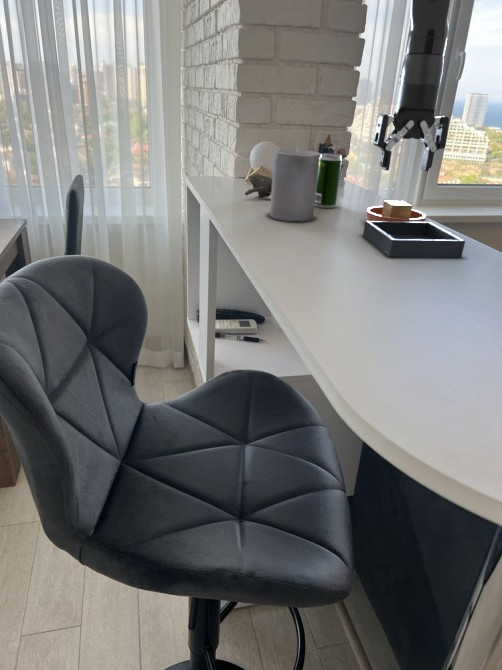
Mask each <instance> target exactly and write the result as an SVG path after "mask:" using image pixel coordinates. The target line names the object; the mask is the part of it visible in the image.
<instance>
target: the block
mask: <svg viewBox="0 0 502 670" xmlns="http://www.w3.org/2000/svg"><path fill="white" fill-rule="evenodd" d="M382 206H383V209H382V216H385V217H391V218H399V219H410V216H411V210H413V205H412V204H410V203H408V202H406V201H405V200H383V204H382Z"/></svg>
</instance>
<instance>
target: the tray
mask: <svg viewBox="0 0 502 670" xmlns="http://www.w3.org/2000/svg"><path fill="white" fill-rule="evenodd" d="M362 237H363V238H365V239H366V240H367V241H368V242H369V243H371V244H372V245H374V247H375V248H377V249H378V250H379V251H380V252H382V253H383V254H384V255H386V256H387V257H388V258H403V259H404V258H405V259H406V258H409V259H411V258H414V259H415V258H417V259H418V258H421V259H425V258H427V259H428V258H429V259H450V258H451V259H461V258H462V257H463V253H464V248H465V244H466V240H464V239H462V238H461V237H459V236H457V235H455V234H453V233H452V232H450V231H448V230H446V229H445V228H442V227H441V226H439V225H436V224H435V223H433V222H431V221H425V222H403V221H365V220H364V227H363V234H362Z"/></svg>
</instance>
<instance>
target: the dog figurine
mask: <svg viewBox="0 0 502 670" xmlns="http://www.w3.org/2000/svg"><path fill="white" fill-rule="evenodd" d="M247 178H248V180H249V183H250V184H252V188H250V189H248V190H246V191H245V192H244V195H245V196H248V195H252V194H253V193H257V198H269V197H271V191H272V177H270V176H268V175H263V174H261V173H255V172H254V173H252V174H250V175H248V177H247Z"/></svg>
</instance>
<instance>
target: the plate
mask: <svg viewBox="0 0 502 670" xmlns="http://www.w3.org/2000/svg"><path fill="white" fill-rule="evenodd" d="M382 209H383V205H379V206H378V205H377V206H371V207H367V208H366V212H365V219H364V222H365V221H403V222H426V219H427V215H426V214H425V213H423V212H422V211H419V210H415V209H412V210H411V216H410V219H399V218H391V217H385V216H382Z"/></svg>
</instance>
